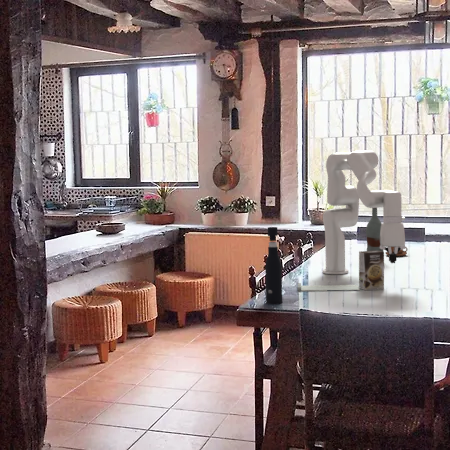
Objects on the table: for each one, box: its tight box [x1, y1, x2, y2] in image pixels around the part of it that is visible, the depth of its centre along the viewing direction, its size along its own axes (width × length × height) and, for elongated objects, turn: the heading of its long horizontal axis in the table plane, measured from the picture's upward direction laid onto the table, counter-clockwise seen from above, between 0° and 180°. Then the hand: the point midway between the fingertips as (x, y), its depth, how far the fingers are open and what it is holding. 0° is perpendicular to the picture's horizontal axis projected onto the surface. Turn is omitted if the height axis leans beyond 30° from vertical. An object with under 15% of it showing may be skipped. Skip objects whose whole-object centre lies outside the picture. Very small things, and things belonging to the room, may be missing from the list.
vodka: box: [365, 208, 385, 253], centre depth 369 cm, size 9×9×30 cm
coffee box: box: [358, 250, 385, 291], centre depth 299 cm, size 9×6×16 cm
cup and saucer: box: [384, 246, 409, 257], centre depth 394 cm, size 12×12×6 cm
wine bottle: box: [264, 226, 283, 305], centre depth 276 cm, size 6×6×30 cm
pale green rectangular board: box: [297, 282, 361, 292], centre depth 302 cm, size 10×26×2 cm, turn 85°
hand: (392, 262), depth 298 cm, fingers closed
